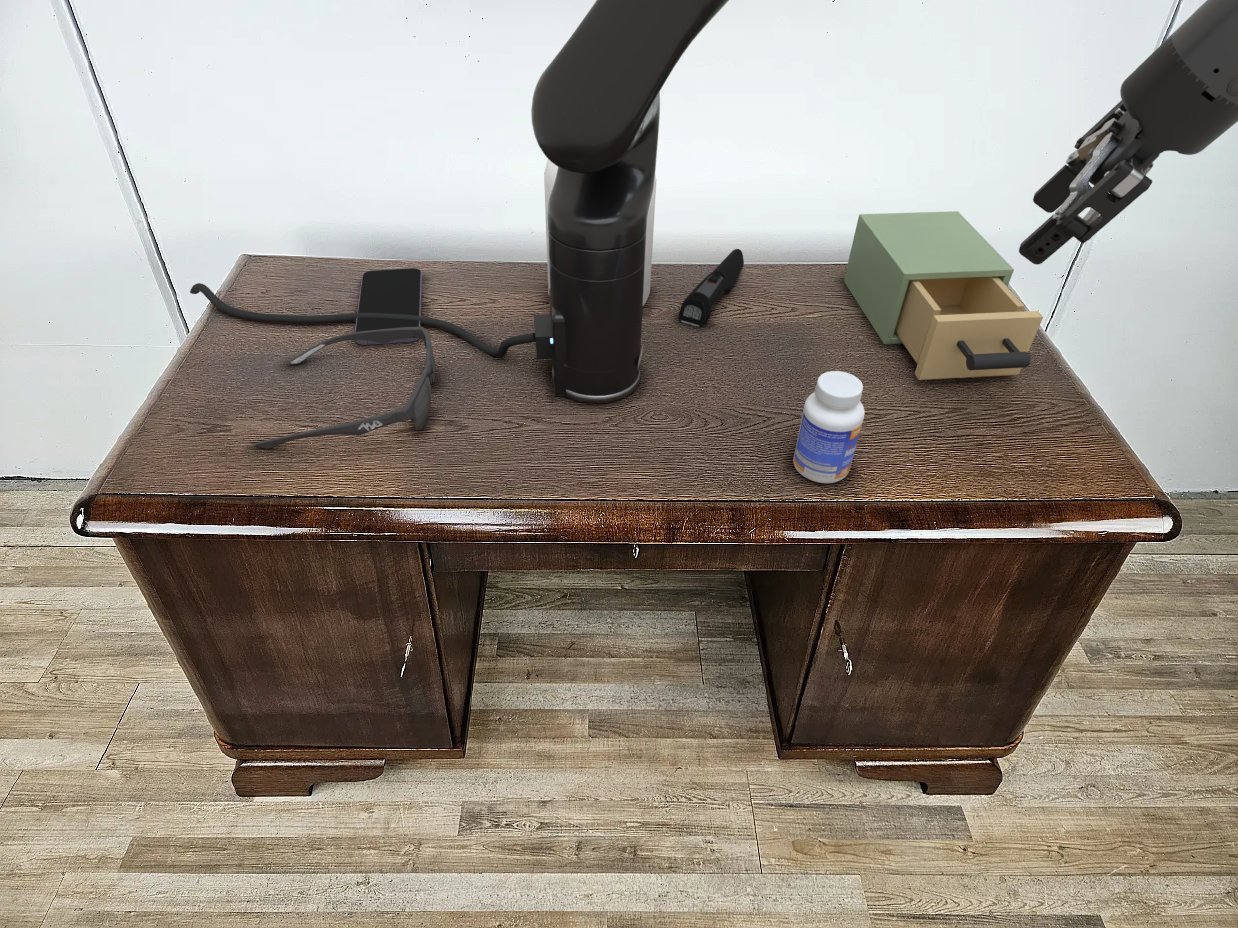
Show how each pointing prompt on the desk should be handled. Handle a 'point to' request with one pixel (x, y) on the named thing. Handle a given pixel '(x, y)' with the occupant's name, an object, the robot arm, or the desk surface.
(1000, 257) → the cabinet
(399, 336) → the sunglasses
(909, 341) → the drawer
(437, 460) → the desk surface
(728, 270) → the electric trimmer
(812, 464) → the pill bottle
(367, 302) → the smartphone
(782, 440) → the desk surface
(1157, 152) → the robot arm
